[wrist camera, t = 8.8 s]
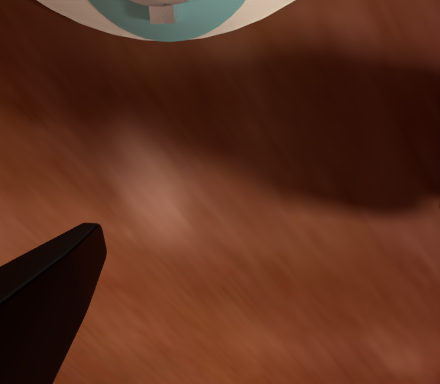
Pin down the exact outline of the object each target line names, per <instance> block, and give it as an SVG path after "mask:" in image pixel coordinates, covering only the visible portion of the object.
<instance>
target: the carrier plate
mask: <svg viewBox="0 0 440 384" xmlns="http://www.w3.org/2000/svg"><path fill="white" fill-rule="evenodd" d="M37 1H39V2H40V3H42V4H43V5H45V6H46V7H48V8H50V9H51V10H53V11H55V12H57V13H59V14H61V15H64V16H66V17H68V18H70V19H72V20H74V21H76V22H78V23H80V24H83V25H86V26H89V27H92V28H95V29H98V30H101V31H104V32H107V33H110V34H113V35H119V36H124V37H129V38H134V39H140V40H154V41H165V42H175V41H184V40H190V39H200V38H206V37H210V36H214V35H218V34H222V33H226V32H230V31H234V30H236V29H239V28H241V27H244V26H246V25H248V24H251V23H253V22H256V21H258V20H261V19H263V18H265V17H267V16H269V15H270V14H272V13H274V12H276V11H277V10H279V9H281V8H283V7H284V6H286V5H288V4H290V3H291V2H293V1H295V0H191V1H189V2H187V3H183V4H180V9H181V21H180V22H177V23H166V24H151V22H150V13H149V6H146V5H141V4H138V3H135V2H133V1H130V0H37Z"/></svg>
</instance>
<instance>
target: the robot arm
mask: <svg viewBox="0 0 440 384" xmlns="http://www.w3.org/2000/svg"><path fill="white" fill-rule="evenodd" d="M106 255H107V249H106V244H105V239H104V235H103V230H102V227H101V225H99V224H97V223H82V224H80V225H78V226H76V227H74V228H73V229H71V230H69V231H67V232H65V233H63V234H61V235H59V236H57V237H56V238H54V239H52V240H50V241H48V242H46V243H44V244H42V245H40V246H38V247H37V248H35V249H33V250H31V251H29V252H27V253H25V254H23V255H21V256H19V257H18V258H16V259H14V260H12V261H10V262H8V263H6V264H4V265H2V266H0V384H53V382H54V380H55V378H56V376H57V373H58V371H59V369H60V367H61V365H62V363H63V361H64V359H65V357H66V355H67V353H68V350H69V348H70V346H71V344H72V342H73V340H74V338H75V336H76V334H77V332H78V330H79V327H80V325H81V323H82V321H83V319H84V317H85V315H86V312H87V310H88V307H89V305H90V302H91V299H92V296H93V294H94V291H95V288H96V285H97V282H98V279H99V276H100V273H101V271H102V268H103V265H104V262H105V259H106Z"/></svg>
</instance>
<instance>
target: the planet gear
mask: <svg viewBox="0 0 440 384" xmlns="http://www.w3.org/2000/svg"><path fill="white" fill-rule="evenodd" d="M130 1H133V2H135V3H138V4H141V5H146V6H149V13H150V22H151V24H166V23H177V22H180V21H181V9H180V4H183V3H187V2H189V1H191V0H130Z"/></svg>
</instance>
